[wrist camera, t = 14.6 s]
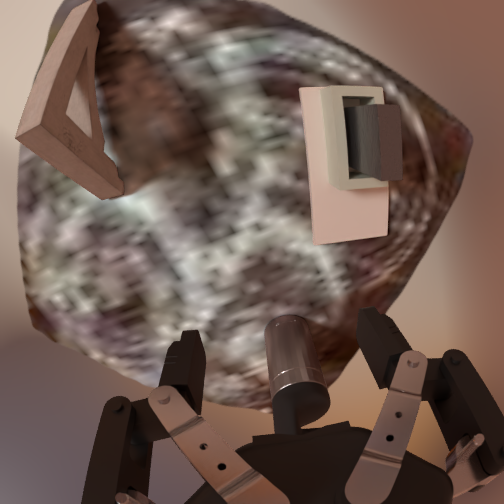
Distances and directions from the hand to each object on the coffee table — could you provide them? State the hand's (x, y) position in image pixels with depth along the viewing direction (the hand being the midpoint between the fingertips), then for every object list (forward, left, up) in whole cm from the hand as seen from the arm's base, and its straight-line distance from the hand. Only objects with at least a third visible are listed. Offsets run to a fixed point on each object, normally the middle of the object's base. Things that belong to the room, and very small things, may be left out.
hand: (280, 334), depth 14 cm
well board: (+2, -16, -34) cm, 38 cm away
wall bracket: (+21, +23, -35) cm, 47 cm away
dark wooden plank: (+7, -16, -33) cm, 38 cm away
